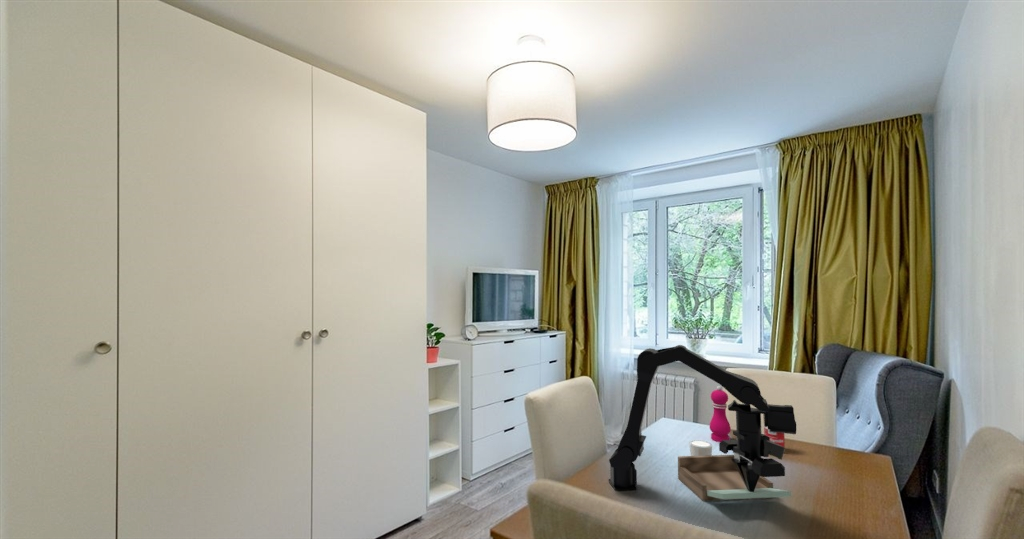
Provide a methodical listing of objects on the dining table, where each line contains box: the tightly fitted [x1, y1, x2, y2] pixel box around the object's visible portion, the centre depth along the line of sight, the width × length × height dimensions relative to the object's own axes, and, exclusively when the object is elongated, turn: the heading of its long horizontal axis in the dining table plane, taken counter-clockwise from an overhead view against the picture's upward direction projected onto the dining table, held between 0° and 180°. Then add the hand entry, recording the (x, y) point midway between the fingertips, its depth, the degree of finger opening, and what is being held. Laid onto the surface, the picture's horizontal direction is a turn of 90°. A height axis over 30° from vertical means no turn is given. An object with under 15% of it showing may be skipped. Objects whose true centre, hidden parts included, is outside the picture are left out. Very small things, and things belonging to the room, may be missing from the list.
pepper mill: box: [709, 385, 732, 443], centre depth 167 cm, size 7×7×20 cm
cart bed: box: [677, 454, 774, 502], centre depth 126 cm, size 20×14×6 cm
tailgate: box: [707, 487, 792, 500], centre depth 115 cm, size 18×1×8 cm
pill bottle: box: [763, 426, 786, 452], centre depth 156 cm, size 6×6×11 cm
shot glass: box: [689, 439, 713, 456], centre depth 142 cm, size 7×7×7 cm
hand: (750, 491), depth 113 cm, fingers closed
